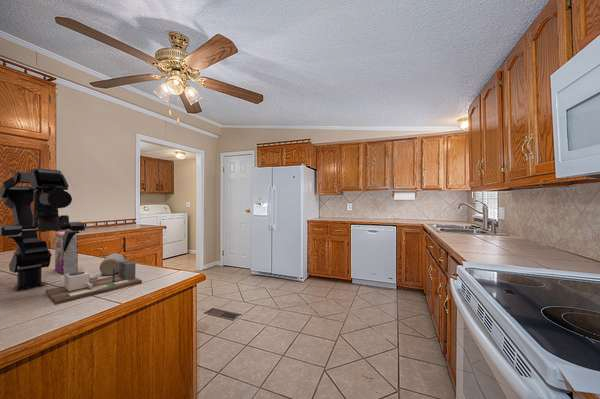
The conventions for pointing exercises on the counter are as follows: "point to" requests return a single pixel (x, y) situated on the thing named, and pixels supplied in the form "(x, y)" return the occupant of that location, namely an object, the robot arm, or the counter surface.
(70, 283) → the gauge
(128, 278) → the test rig
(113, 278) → the peak needle
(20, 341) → the counter surface
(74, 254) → the candy bar box
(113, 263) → the ceramic mug
